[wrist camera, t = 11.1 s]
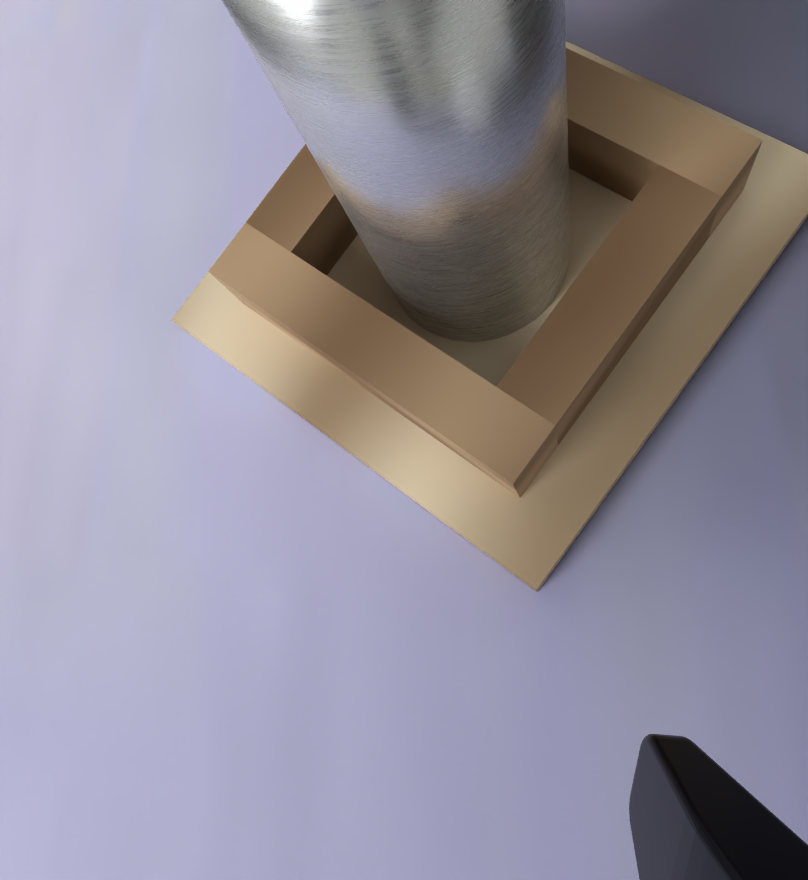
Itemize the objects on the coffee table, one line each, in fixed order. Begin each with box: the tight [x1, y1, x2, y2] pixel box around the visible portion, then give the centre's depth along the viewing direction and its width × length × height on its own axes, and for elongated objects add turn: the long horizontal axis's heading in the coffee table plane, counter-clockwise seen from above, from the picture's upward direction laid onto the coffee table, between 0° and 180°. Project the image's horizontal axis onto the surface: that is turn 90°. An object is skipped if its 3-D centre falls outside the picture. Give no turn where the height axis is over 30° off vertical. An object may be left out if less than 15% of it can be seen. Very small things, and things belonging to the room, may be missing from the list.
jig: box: [171, 41, 808, 592], centre depth 18 cm, size 12×12×3 cm
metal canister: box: [222, 0, 571, 342], centre depth 13 cm, size 5×5×13 cm
